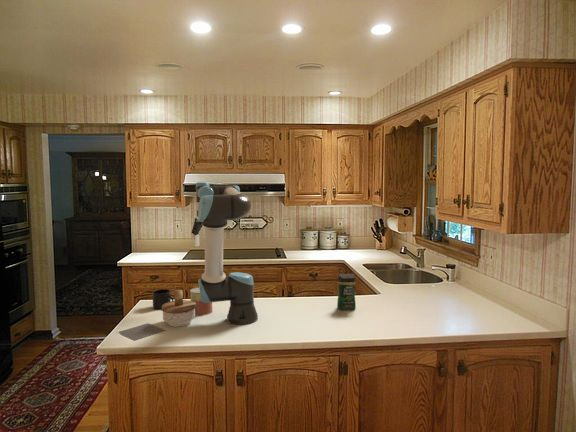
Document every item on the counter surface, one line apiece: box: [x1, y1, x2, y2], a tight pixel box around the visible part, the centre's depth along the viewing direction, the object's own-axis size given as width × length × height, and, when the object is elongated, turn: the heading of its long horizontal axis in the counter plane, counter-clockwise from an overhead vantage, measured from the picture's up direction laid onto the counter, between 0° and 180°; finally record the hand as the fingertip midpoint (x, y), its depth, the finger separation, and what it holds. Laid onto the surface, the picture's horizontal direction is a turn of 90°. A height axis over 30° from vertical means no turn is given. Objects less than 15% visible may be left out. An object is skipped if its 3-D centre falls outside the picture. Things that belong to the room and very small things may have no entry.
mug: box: [151, 288, 174, 311], centre depth 229 cm, size 9×12×9 cm
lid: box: [161, 289, 196, 313], centre depth 202 cm, size 16×16×8 cm
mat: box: [118, 322, 167, 342], centre depth 192 cm, size 16×16×1 cm
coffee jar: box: [336, 273, 357, 311], centre depth 222 cm, size 10×8×19 cm
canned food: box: [189, 287, 213, 316], centre depth 220 cm, size 11×11×12 cm
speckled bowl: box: [162, 309, 196, 327], centre depth 203 cm, size 15×15×8 cm
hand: (204, 247), depth 235 cm, fingers open, 13 cm apart
